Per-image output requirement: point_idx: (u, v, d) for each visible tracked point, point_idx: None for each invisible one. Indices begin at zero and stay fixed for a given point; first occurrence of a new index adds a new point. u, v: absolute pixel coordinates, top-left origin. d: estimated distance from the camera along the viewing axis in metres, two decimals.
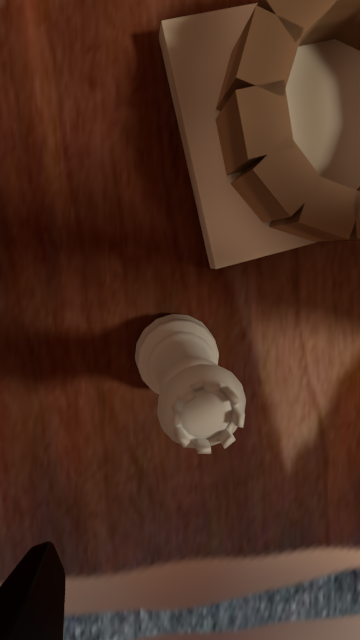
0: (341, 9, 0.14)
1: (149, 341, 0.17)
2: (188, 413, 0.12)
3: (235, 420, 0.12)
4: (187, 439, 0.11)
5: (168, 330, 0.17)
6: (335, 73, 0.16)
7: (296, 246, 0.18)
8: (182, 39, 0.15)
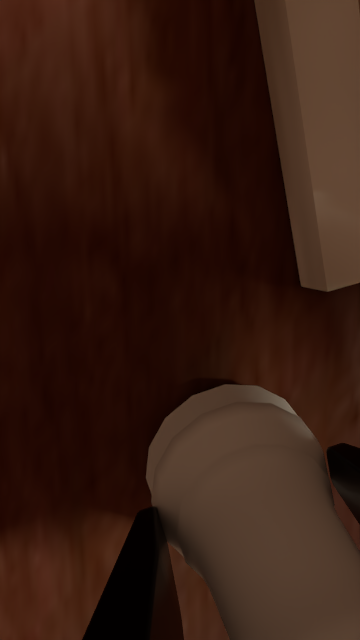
0: None
1: (181, 461, 0.07)
2: None
3: None
4: None
5: (225, 435, 0.07)
6: None
7: None
8: None
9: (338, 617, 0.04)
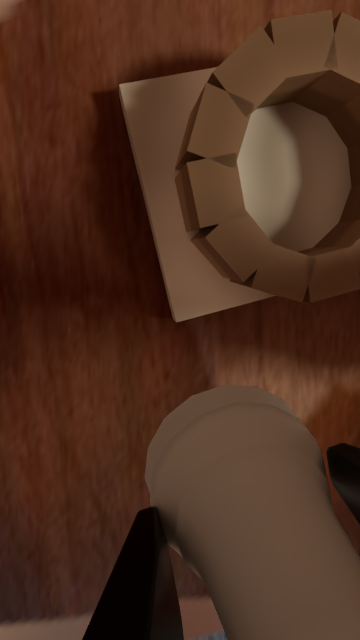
0: (293, 82, 0.14)
1: (180, 461, 0.07)
2: None
3: None
4: None
5: (224, 436, 0.07)
6: (293, 134, 0.17)
7: (256, 299, 0.18)
8: (140, 102, 0.15)
9: (335, 617, 0.04)
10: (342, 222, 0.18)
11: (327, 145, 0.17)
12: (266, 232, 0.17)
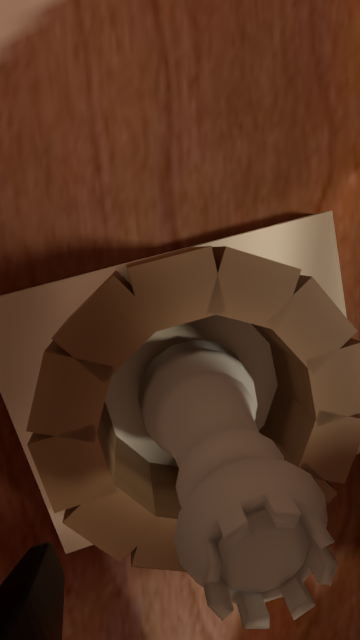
0: None
1: (161, 380, 0.12)
2: (233, 554, 0.06)
3: (320, 573, 0.06)
4: (228, 604, 0.06)
5: (189, 365, 0.11)
6: (199, 336, 0.13)
7: None
8: None
9: (226, 431, 0.08)
10: (266, 430, 0.14)
11: (243, 343, 0.14)
12: None
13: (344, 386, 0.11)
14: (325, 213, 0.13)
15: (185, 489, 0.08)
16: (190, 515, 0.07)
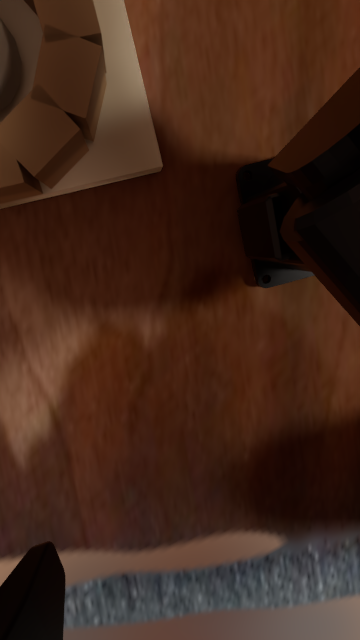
0: None
1: None
2: None
3: None
4: None
5: None
6: None
7: None
8: None
9: None
10: None
11: (17, 21, 0.14)
12: None
13: None
14: None
15: None
16: None
